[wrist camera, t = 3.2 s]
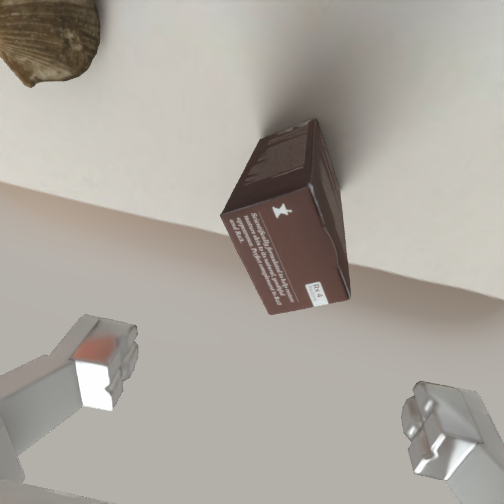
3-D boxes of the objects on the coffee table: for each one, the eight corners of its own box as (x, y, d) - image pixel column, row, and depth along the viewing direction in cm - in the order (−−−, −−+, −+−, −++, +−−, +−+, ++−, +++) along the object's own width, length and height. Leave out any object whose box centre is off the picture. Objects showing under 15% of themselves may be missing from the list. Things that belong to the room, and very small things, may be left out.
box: (254, 140, 25) (214, 213, 15) (317, 116, 24) (321, 178, 13) (284, 215, 28) (267, 320, 17) (342, 197, 26) (361, 300, 16)
